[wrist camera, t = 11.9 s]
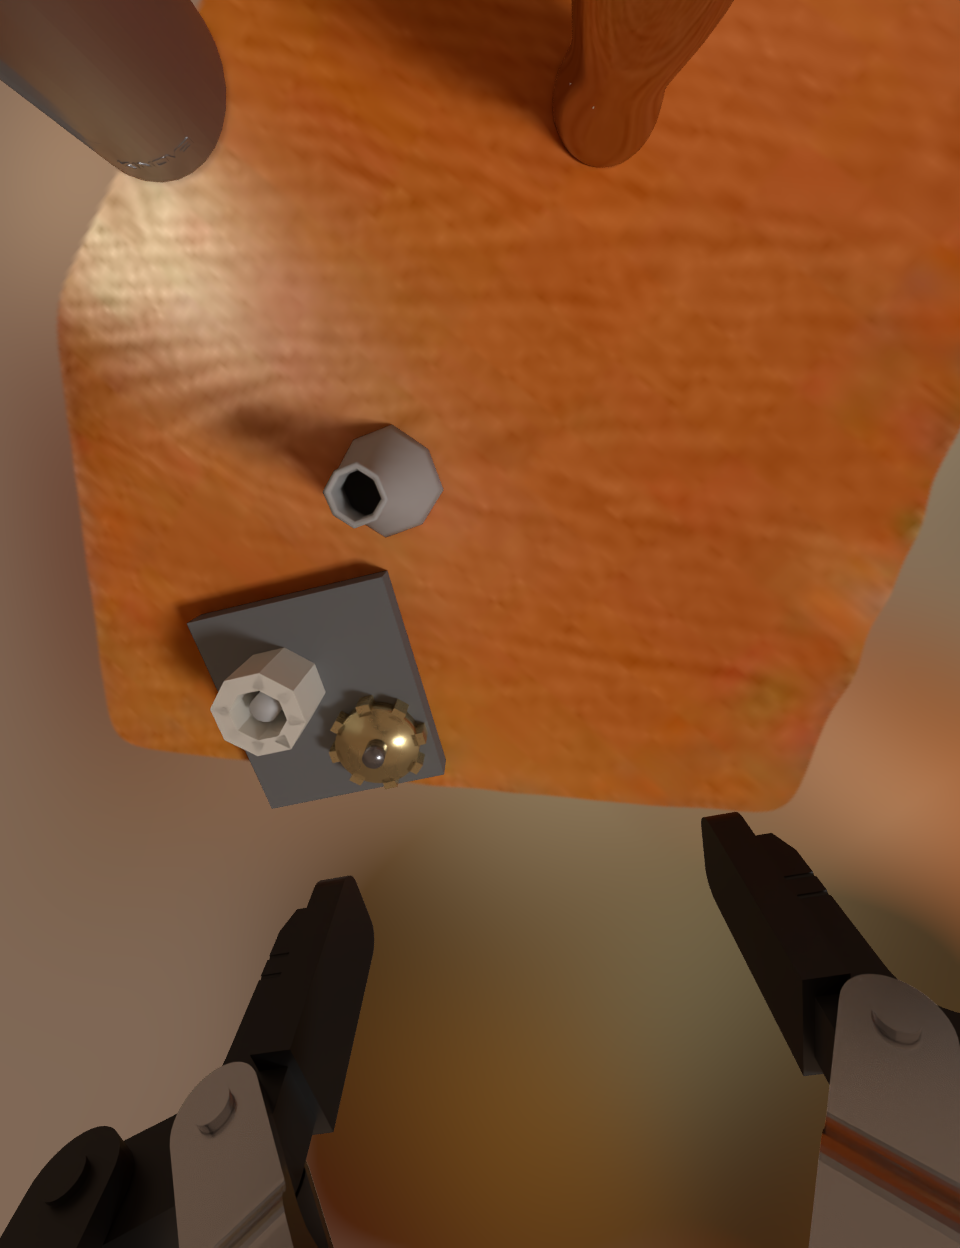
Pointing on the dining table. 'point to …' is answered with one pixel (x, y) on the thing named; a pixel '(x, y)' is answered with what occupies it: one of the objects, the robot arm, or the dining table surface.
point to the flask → (384, 483)
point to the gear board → (323, 675)
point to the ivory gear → (278, 679)
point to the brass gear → (378, 742)
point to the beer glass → (624, 71)
